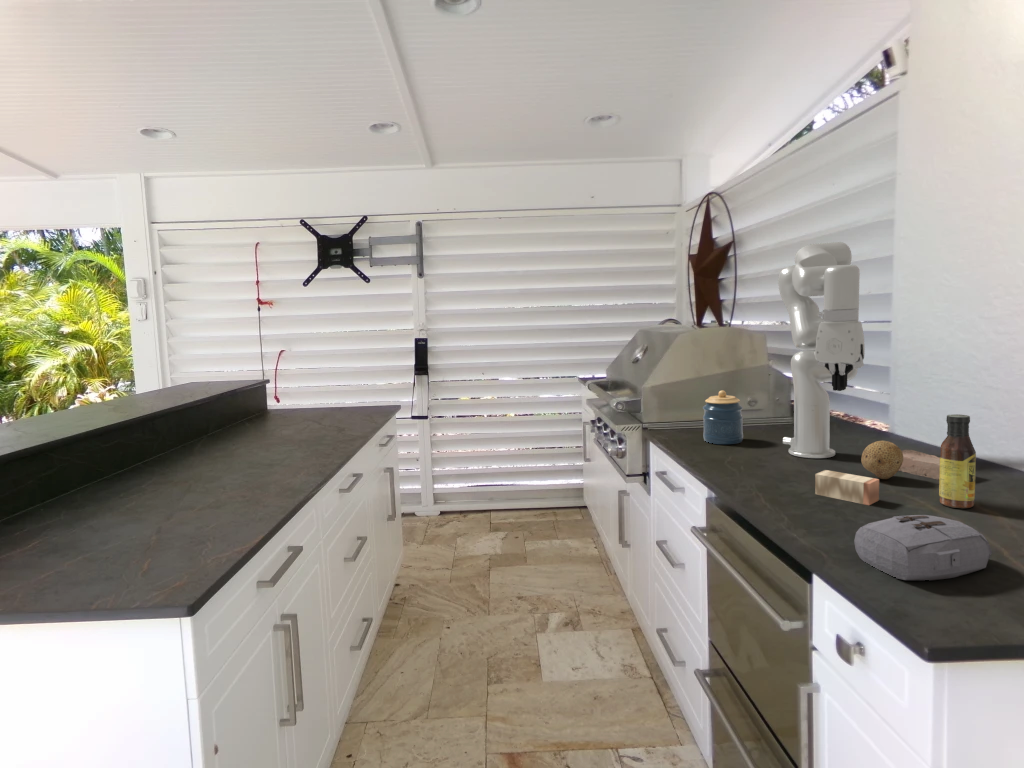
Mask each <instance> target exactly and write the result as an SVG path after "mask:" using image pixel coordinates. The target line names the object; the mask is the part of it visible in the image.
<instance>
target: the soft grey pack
mask: <svg viewBox="0 0 1024 768" xmlns="http://www.w3.org/2000/svg"><path fill="white" fill-rule="evenodd" d="M853 543H854V548H855V551H856V554H857V555H858V557H859V559H861V561H862V562H864V563H865V562H866V563H868V564H870V565H871V566H873V567H875V568H877V569H879V570H881V571H883V572H885V573H887V574H889V575H891V576H893V577H896V578H895V579H899V580H903V581H925V580H929V581H937V580H944V579H946V580H947V579H952V578H957V577H960V576H964V575H968V574H971V573H975V572H977V571H980V570H983V569H986V568H987V565H988V563H989V560H990V558H991V555H992V553H993V551H992V548H991V546H990V542H989V541H988V540H987V538H986V537H985V535H984V534H982V533H981V532H980V531H978V530H977V529H975V528H974V527H972V526H970V525H967V524H965V523H963V522H962V521H959V520H955V519H952V518H951V519H950V518H946V517H943V516H941V517H940V516H935V515H928V514H914V515H913V514H912V515H911V514H910V515H899V516H898V515H896V516H895V515H894V516H893V517H889V518H886V519H885V518H884V519H882V520H877V521H873V522H869V523H866V524H864V525H863V526H860V527H859V528H858V529H857V531H856V532H855V535H854V540H853ZM866 563H865V564H866ZM871 566H870V567H871ZM873 567H872V568H873ZM875 568H874V569H875ZM877 569H876V570H877ZM883 572H882V573H883ZM885 573H884V574H885ZM887 574H886V575H887ZM889 575H888V576H889ZM891 576H890V577H891ZM893 577H892V578H893Z"/></svg>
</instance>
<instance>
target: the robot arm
mask: <svg viewBox="0 0 1024 768" xmlns="http://www.w3.org/2000/svg"><path fill="white" fill-rule="evenodd" d="M852 256H853V255H852V250H851V247H849V245H848V244H847V243H845V242H841V241H836V242H834V241H833V242H824V243H822V242H821V243H813V244H811V243H810V244H807V245H804V246H802V247H801V248H799V249H798V250H797V252H796V254H795V256H794V264H795V265H789V266H787V267H785V268H783V269H782V270H780V272H779V274H778V279H777V281H778V282H777V284H778V291H779V295H780V298H781V299H782V302H783V304H784V305H785V308H786V309H787V312H788V317H789V323H790V333H791V338H792V339H791V340H792V343H793V345H794V347H795V348H796V349H798V350H801V351H798V352H796V353H794V354H793V356H792V357H791V359H790V370H791V376H792V377H791V378H792V382H793V411H794V413H793V420H794V421H793V425H794V426H793V430H794V431H793V437H789V436H784V437H783V438H782V444H784V445H789V446H790V447H789V448H788V453H789V454H790V455H792V456H795V457H799V458H805V459H827V458H828V459H829V458H831V457H834V456H835V455H836V450H835V449H833V448H830V422H831V421H830V419H831V418H830V408H831V407H830V406H831V405H830V401H831V400H830V396H829V393H828V391H827V390H826V389H825V388H824V387H823V386H822V385H821V383H825V382H831V386H832V391H834V392H836V391H838V392H840V391H845V390H846V388H847V387H848V381H852V380H853V379H855V378H856V377H857V374H858V370H859V369H860V368H863V367H864V366H865V364H864V359H865V354H866V353H865V352H866V351H865V350H866V349H865V348H866V347H865V336H864V330H863V324H862V321H859V317H860V316H859V315H860V312H859V311H860V309H859V307H860V306H859V305H860V278H861V277H860V274H861V273H860V268H859V266H857V265H855V264H851V263H852ZM818 296H819V297H821V296H823V309H822V311H820V308H819V305H818V304H817V303H816V301H815V300H814V299H812V298H811V297H818Z"/></svg>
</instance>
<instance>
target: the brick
mask: <svg viewBox="0 0 1024 768" xmlns="http://www.w3.org/2000/svg"><path fill="white" fill-rule="evenodd" d="M901 451H902V453H903V463H902V465H901V467H900V469H899V470H898V472H902V473H907V474H910V475H914V476H921V477H925V478H930V479H934V480H938V481H939V473H940V457H939V456H937V455H934V454H933V455H932V454H928V453H925V452H921V451H917V450H914V449H903V450H902V449H901Z"/></svg>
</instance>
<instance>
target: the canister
mask: <svg viewBox="0 0 1024 768" xmlns="http://www.w3.org/2000/svg"><path fill="white" fill-rule="evenodd" d="M704 402H705V403H706V404H704V406H702V409H703V411H704V414H703V416H702V419H703V420H702V421H703V435H702V436H703V441H704V442H705V441H706V442H705V443H708V442H709V443H708V444H712V443H713V445H735V444H739V443H742V442H743V440H744V433H743V432H744V431H743V430H744V429H743V426H744V425H743V419H744V417H743V415H742V410H743V409H744V408H743V406H742V405H741V404H740V402H741V400H740V399H739V398H737V397H736V396H734V395H728V394H727V392H726V391H725V390H723V389H722V390H719V391H718V395H711V396H709V397H708V398H707V399H705V400H704Z"/></svg>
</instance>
